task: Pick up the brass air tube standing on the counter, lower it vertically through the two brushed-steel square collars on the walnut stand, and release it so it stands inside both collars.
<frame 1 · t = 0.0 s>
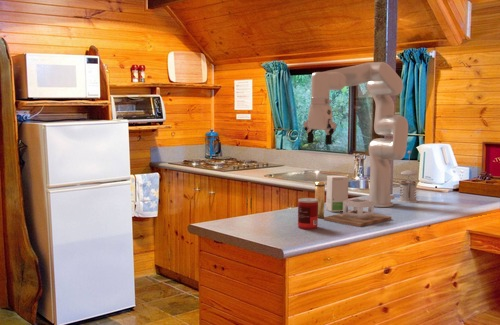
hand: (319, 143, 250), 31 cm above the table, tool pointing down, fingers open, 9 cm apart
collar cage: (358, 208, 249), on the stand board, point 5 cm above the table
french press: (408, 201, 296), on the table
canned food: (307, 227, 234), on the table
stand board: (357, 219, 250), on the table
brass tube: (319, 217, 254), on the table
skincare box: (336, 210, 270), on the table
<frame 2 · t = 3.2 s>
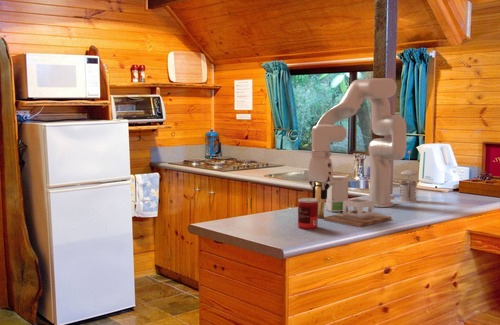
hand: (319, 197, 253), 8 cm above the table, tool pointing down, fingers closed on brass tube, 4 cm apart
brass tube: (319, 217, 254), on the table, touching gripper
everything else where it was.
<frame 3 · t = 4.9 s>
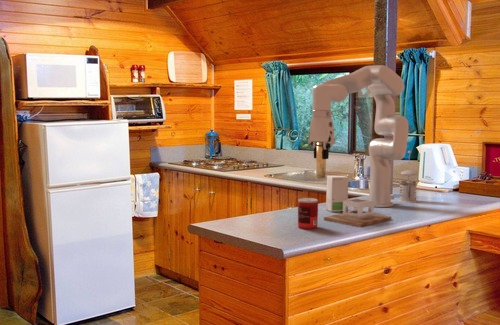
hand: (321, 158, 252), 25 cm above the table, tool pointing down, fingers closed on brass tube, 4 cm apart
brass tube: (320, 177, 253), point 17 cm above the table, touching gripper
everything else where it was.
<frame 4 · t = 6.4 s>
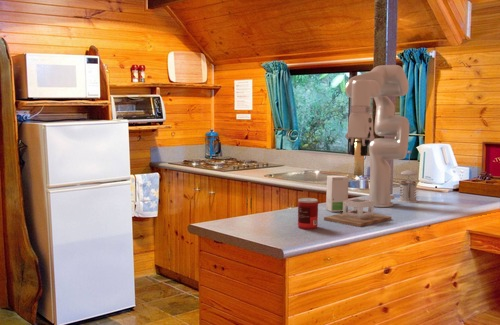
hand: (359, 154, 247), 27 cm above the table, tool pointing down, fingers closed on brass tube, 4 cm apart
brass tube: (358, 174, 248), point 19 cm above the table, touching gripper
everything else where it was.
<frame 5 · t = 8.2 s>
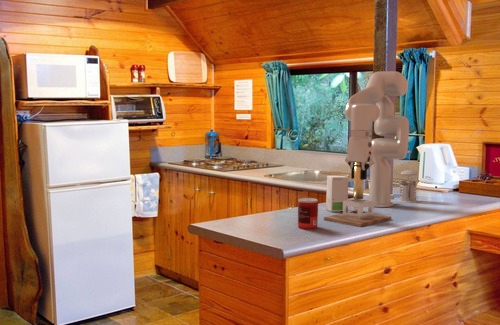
hand: (358, 178, 248), 17 cm above the table, tool pointing down, fingers closed on brass tube, 4 cm apart
brass tube: (358, 198, 249), point 9 cm above the table, touching gripper
everything else where it was.
when the fingers open (11 cm above the table, at t = 9.8 s): brass tube drops 1 cm, resting on stand board.
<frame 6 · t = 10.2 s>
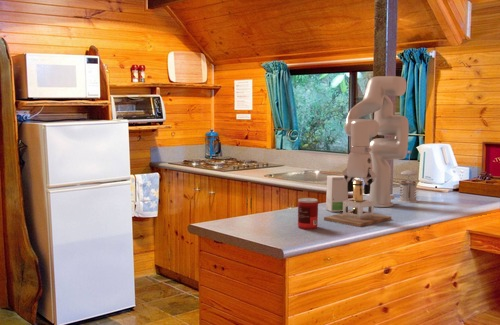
hand: (358, 192, 248), 11 cm above the table, tool pointing down, fingers open, 7 cm apart
brass tube: (357, 216, 250), point 1 cm above the table, touching stand board
everything else where it was.
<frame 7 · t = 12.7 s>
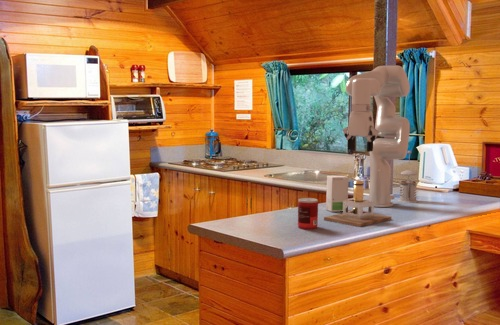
hand: (360, 150, 249), 29 cm above the table, tool pointing down, fingers open, 9 cm apart
nothing on the table moved.
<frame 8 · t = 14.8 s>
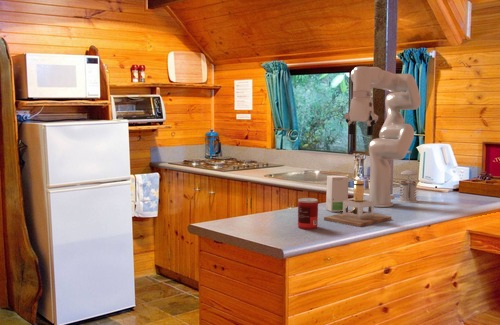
hand: (360, 134, 263), 34 cm above the table, tool pointing down, fingers open, 9 cm apart
nothing on the table moved.
at the end: brass tube 0.0 cm off-centre on the collar cage, point 1.2 cm above the collar cage's base; brass tube tilted 0°; the gripper is holding nothing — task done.
